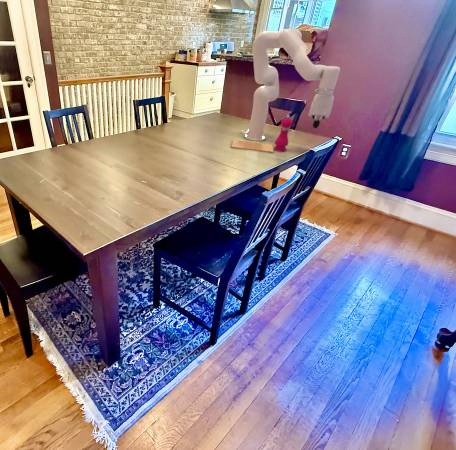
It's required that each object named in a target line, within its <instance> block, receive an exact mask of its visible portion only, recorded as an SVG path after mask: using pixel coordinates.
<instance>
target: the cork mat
mask: <svg viewBox="0 0 456 450" xmlns="http://www.w3.org/2000/svg"><path fill="white" fill-rule="evenodd" d="M231 148H232V149H240V150H247V151H248V150H249V151H256V152H265V153H272V154H273V153H274V145H273V144H270V143H263V142H262V143H261V142H253V141H243V140H236V139H233V140H232V144H231Z"/></svg>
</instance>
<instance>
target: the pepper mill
mask: <svg viewBox="0 0 456 450" xmlns="http://www.w3.org/2000/svg"><path fill="white" fill-rule="evenodd" d="M290 116H291V115H289V114H287V115H286V117H284V118H283V119H282V120H281V122H280V125H281V126H280V132H279V135H278V136H277V138H276V139H275V141H274V145H275V146H274V147H273V150H274V151H277V152H280V153H281V152H285V151H286V150H287V148H286V147H287V146H289V138H288V137H289V136H288V135H289V134H288V133H289V131H290V129H291V126H292V125H293V120H292V118H291V117H290Z"/></svg>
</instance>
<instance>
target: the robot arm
mask: <svg viewBox="0 0 456 450" xmlns="http://www.w3.org/2000/svg"><path fill="white" fill-rule="evenodd" d="M302 37H303V34H302V32H301V30H300V29H298V28H290V27H289V28H285V29H283V30H279V31H277V30H264V31H261V32H260V33H259V34H257V35H256V37H255V38H254V40H253V42H252V45H251V53H252V59H253V72H254V80H255V83H256V84H258V85H262V86H259V87H258V88H257V89H256V90H255V91H254V93H253V104H252V110H251V115H250V121H249V126H248V129H247V130H241V131H240V134H242V135H245V136H244V138H245V139H247V140H249V141H252V142H253V141H254V142H263V141H265V139H266V137H265V136H264V131H265V127H266V123H267V120H268V119H267V118H268V115H269V114H268V113H269V103H272V102H274V101H277V99H278V97H279V96H280V82H279V81H280V80H279V72H278V70H277V68H276V67H275V66H272V65H270V61H269V60H270V59H269V54H268V51H267V49H282V48H283V49H284V51H285V52H286V53H287V54H288V56H289V57H290V58H291V59H292V62H293V63H292V64H293V65H294V68H295V70H296V71H297V73H298V74H299V75H300V77H302V78H303V79H304V80H305V81H307V82H313V81H320V82H319V85H318V88H317V89H315V90H314V93H315V95H314V97H313V98H312V101H311V103H310V107H309V110H308V114H307V116H308V117H310V118H312V119H313V122H312V128H313V129H318V128H319V126H320V124H321V122H322V120H324V119H329V118H330V115H331V113H332V110H333V109H332V108H333V105H334V100H335V95H334V93H335V92H334V91H335V88H336V86H337V82H338V79H339V75H340V72H341V67H340V66H335V65H324V64H314V63H313V62H312V61H311V59H310V58H309V57H308V55H307V51H308V46H307V44H306V43H305V42H304V41H303V40H302Z"/></svg>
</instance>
